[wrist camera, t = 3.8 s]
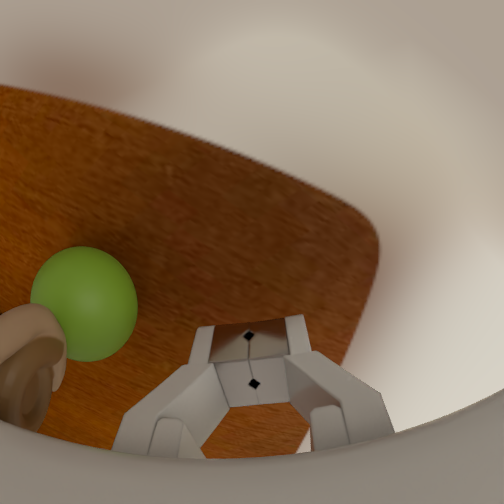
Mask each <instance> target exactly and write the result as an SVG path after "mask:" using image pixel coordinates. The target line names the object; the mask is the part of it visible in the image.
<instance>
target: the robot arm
mask: <svg viewBox="0 0 504 504" xmlns="http://www.w3.org/2000/svg"><path fill="white" fill-rule="evenodd" d="M281 402H290V404H291V405H292V406H293V407H294V408H295V409H296V410H297V411H298V412H299V413H300V414H301V415H302V416H303V418H304V419H305V420H306V421H307V422H308V423H309V424H310V437H311V452H305V453H297V454H289V455H280V456H270V457H256V458H236V459H206V457H205V456H204V454H203V453H202V451H201V450H200V447H201V446H202V445H203V444H204V442H205V441H206V440H207V438H208V437H209V436H210V434H211V433H212V432H213V431H214V429H215V428H216V427H217V425H218V424H219V423H220V421H221V420H222V419H223V417H224V416H225V415H226V413H227V412H228V411H229V407H239V406H249V405H258V404H270V403H281ZM0 504H504V389H502V390H500V391H498V392H496V393H494V394H493V395H491V396H489V397H487V398H485V399H482V400H480V401H478V402H476V403H474V404H472V405H469V406H467V407H465V408H463V409H460V410H458V411H456V412H453V413H451V414H449V415H446V416H443V417H441V418H438V419H435V420H433V421H430V422H427V423H424V424H421V425H418V426H416V427H412V428H409V429H406V430H403V431H400V432H396V433H395V431H394V429H393V426H392V423H391V420H390V417H389V415H388V412H387V410H386V407H385V404H384V401H383V399H382V396H381V393H379V392H378V391H376V390H375V389H373V388H372V387H370V386H369V385H367V384H366V383H364V382H362V381H361V380H359V379H358V378H356V377H355V376H353V375H352V374H350V373H349V372H347V371H346V370H344V369H343V368H342V367H340V366H339V365H337V364H336V363H334V362H333V361H331V360H330V359H328V358H327V357H325V356H324V355H322V354H321V353H320V352H318V351H311V347H310V342H309V338H308V333H307V329H306V325H305V320H304V316H303V315H302V314H299V315H294V316H288V317H285V319H284V318H279V319H272V320H265V321H258V322H247V323H237V324H226V325H216V326H204V327H199V328H198V329H197V331H196V334H195V338H194V342H193V346H192V350H191V354H190V357H189V361H188V365H182V366H181V367H180V368H179V369H177V370H176V371H175V372H174V373H173V374H172V375H170V376H169V377H168V378H167V379H166V380H165V381H163V382H162V383H161V384H160V385H159V386H157V387H156V388H155V389H154V390H153V391H151V392H150V393H149V394H148V395H147V396H145V397H144V398H143V399H142V400H141V401H139V402H138V403H137V404H136V405H135V406H133V407H132V408H131V409H130V410H128V411H127V412H126V413H125V414H124V416H123V419H122V422H121V424H120V427H119V430H118V432H117V435H116V438H115V441H114V444H113V446H112V449H111V450H106V449H101V448H96V447H91V446H86V445H81V444H77V443H73V442H69V441H65V440H61V439H57V438H53V437H50V436H46V435H43V434H40V433H36V432H33V431H30V430H27V429H24V428H21V427H18V426H16V425H13V424H10V423H7V422H5V421H2V420H0Z"/></svg>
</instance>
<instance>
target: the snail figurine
mask: <svg viewBox="0 0 504 504" xmlns="http://www.w3.org/2000/svg"><path fill="white" fill-rule="evenodd" d="M30 302H31V304H25V305H21V306H18V307H16V308H13V309H11V310H9V311H7V312H5V313H3V314H2V315H0V420H2V421H5V422H7V423H10V424H13V425H16V426H18V427H21V428H24V429H27V430H30V431H33V432H36V431H37V430H38V429H39V427H40V425H41V424H42V422H43V420H44V418H45V415H46V413H47V410H48V406H49V403H50V398H51V393H52V391H56V390H57V389H58V388H59V386H60V384H61V382H62V379H63V377H64V373H65V369H66V358H69V359H72V360H76V361H83V362H91V361H97V360H101V359H104V358H107V357H109V356H111V355H112V354H114V353H115V352H117V351H118V350H119V349H120V348H121V347H122V346H123V345H124V344H125V343H126V342H127V340H128V339H129V337H130V335H131V334H132V331H133V329H134V326H135V323H136V319H137V312H138V302H137V295H136V290H135V287H134V284H133V282H132V280H131V278H130V276H129V274H128V273H127V271H126V270H125V268H124V267H123V266H122V265H121V264H120V263H119V262H118V261H117V260H116V259H115V258H114V257H112V256H111V255H109V254H108V253H106V252H104V251H102V250H99V249H96V248H92V247H85V246H78V247H71V248H67V249H64V250H62V251H60V252H58V253H56V254H54V255H53V256H52V257H50V258H49V259H48V260H47V261H46V262H45V263H44V264H43V266H42V267H41V268H40V270H39V271H38V273H37V275H36V277H35V280H34V282H33V286H32V290H31V301H30Z"/></svg>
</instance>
